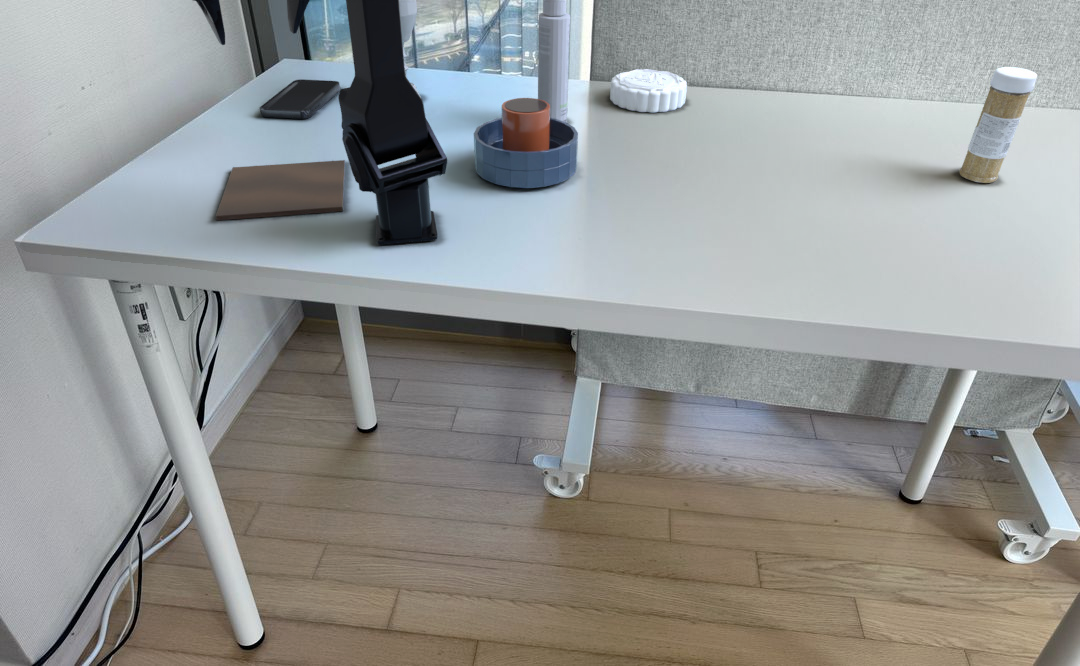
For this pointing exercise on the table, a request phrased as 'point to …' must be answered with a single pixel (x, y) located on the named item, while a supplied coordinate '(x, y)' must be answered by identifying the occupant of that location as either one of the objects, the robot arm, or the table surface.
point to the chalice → (407, 24)
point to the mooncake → (648, 91)
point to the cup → (526, 125)
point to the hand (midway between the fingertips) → (258, 37)
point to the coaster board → (283, 190)
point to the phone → (300, 99)
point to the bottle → (554, 57)
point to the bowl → (525, 157)
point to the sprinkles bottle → (997, 123)
